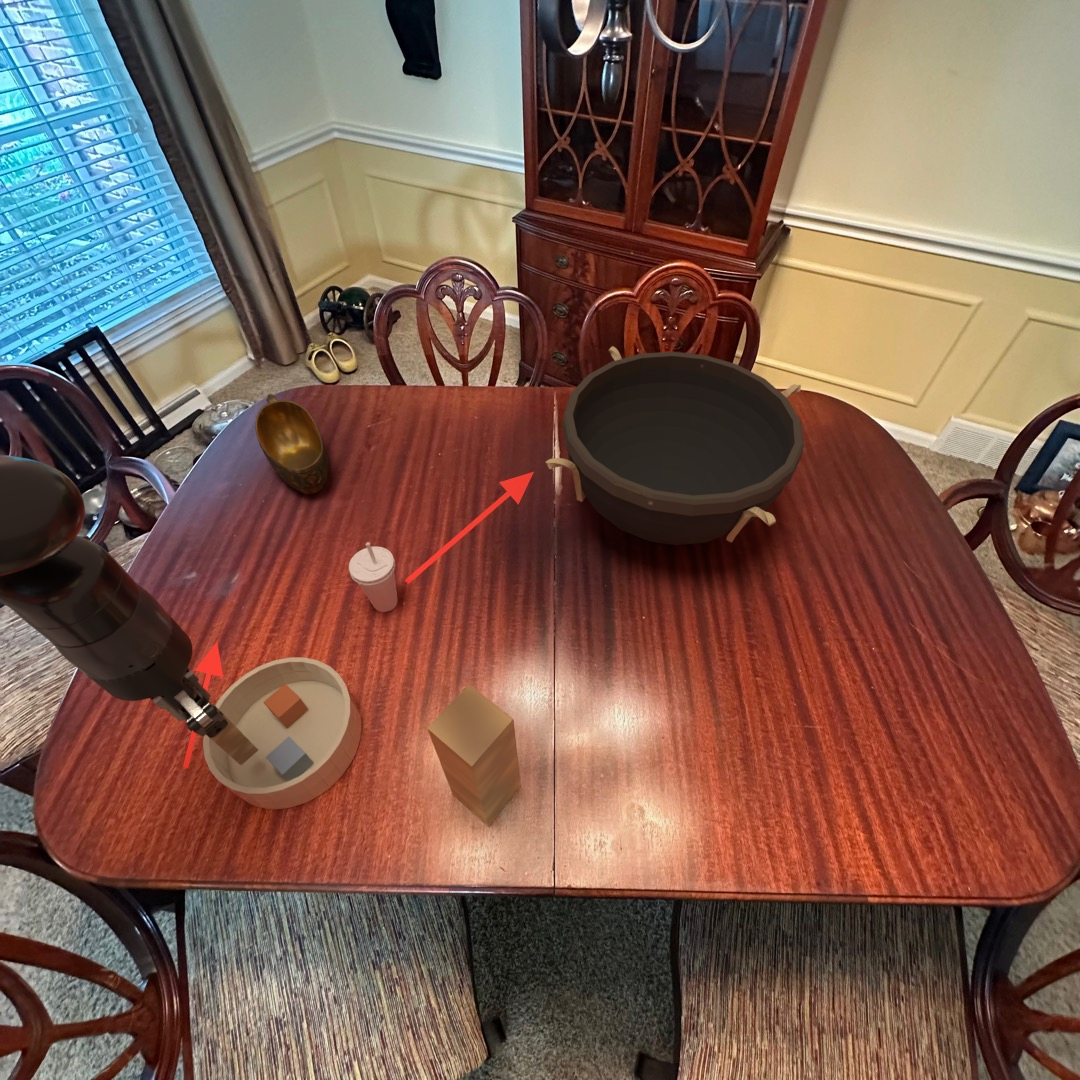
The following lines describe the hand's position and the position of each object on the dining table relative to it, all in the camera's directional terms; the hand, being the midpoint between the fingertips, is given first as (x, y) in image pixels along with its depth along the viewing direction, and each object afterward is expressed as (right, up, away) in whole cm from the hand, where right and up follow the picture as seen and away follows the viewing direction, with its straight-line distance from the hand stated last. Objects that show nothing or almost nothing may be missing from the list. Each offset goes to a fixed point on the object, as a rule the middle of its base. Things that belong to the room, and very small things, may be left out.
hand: (210, 721), depth 65 cm
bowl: (+57, +25, +39) cm, 73 cm away
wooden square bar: (0, -6, +7) cm, 9 cm away
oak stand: (+29, -11, +9) cm, 32 cm away
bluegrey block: (+5, -9, +11) cm, 15 cm away
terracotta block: (+2, -3, +16) cm, 16 cm away
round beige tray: (+3, -7, +14) cm, 16 cm away
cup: (-9, +33, +48) cm, 59 cm away
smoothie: (+12, +10, +28) cm, 32 cm away
